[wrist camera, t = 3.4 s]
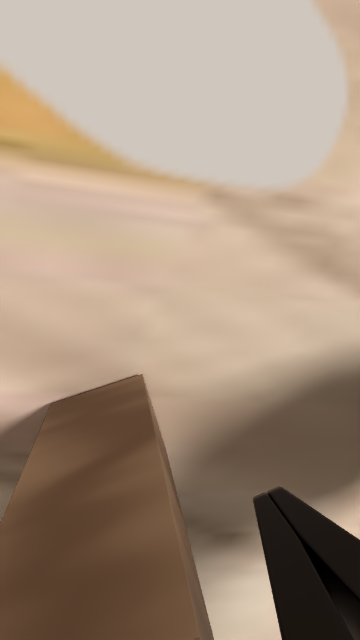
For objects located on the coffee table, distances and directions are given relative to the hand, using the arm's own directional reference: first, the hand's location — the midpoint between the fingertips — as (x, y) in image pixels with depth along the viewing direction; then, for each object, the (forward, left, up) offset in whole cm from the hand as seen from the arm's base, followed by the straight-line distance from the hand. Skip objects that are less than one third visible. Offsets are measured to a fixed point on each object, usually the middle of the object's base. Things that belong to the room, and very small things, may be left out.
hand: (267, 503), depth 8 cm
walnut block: (+4, 0, -6) cm, 8 cm away
